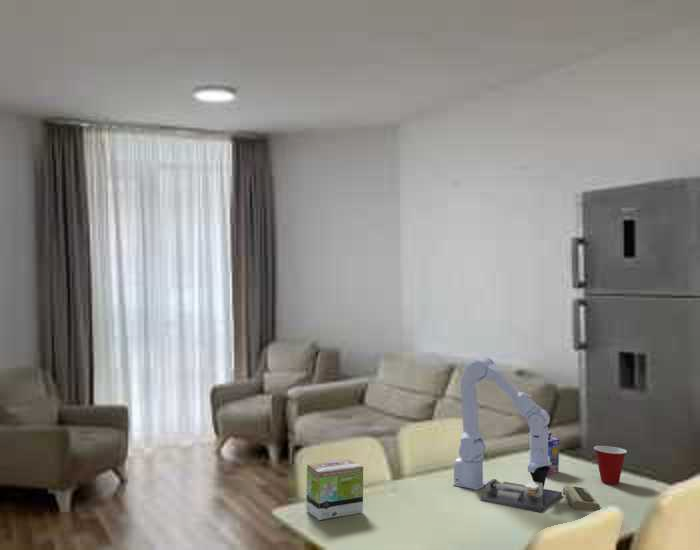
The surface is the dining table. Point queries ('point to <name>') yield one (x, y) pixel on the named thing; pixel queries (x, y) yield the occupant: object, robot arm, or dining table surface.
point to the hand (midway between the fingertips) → (539, 489)
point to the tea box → (334, 489)
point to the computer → (580, 498)
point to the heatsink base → (519, 497)
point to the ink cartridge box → (553, 454)
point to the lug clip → (534, 486)
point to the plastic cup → (610, 463)
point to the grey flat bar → (513, 487)
